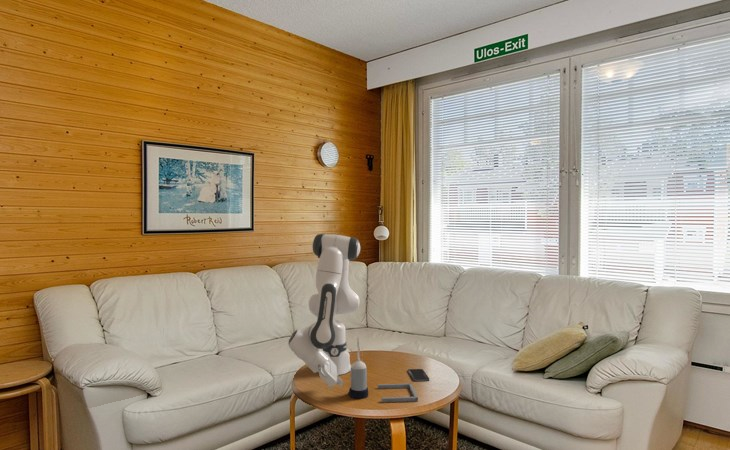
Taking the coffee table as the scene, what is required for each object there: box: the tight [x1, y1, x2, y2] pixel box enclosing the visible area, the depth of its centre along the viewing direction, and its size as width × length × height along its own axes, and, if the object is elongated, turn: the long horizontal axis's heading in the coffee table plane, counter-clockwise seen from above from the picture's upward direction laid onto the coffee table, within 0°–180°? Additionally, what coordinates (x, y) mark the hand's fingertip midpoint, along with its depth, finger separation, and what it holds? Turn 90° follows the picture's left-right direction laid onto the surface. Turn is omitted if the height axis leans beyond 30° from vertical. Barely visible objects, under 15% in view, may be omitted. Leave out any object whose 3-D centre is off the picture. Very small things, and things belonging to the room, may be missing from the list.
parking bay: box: [377, 383, 419, 403], centre depth 195 cm, size 16×15×2 cm
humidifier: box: [347, 336, 369, 400], centre depth 194 cm, size 8×8×25 cm
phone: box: [407, 368, 430, 382], centre depth 218 cm, size 8×1×15 cm
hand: (342, 384), depth 193 cm, fingers closed
